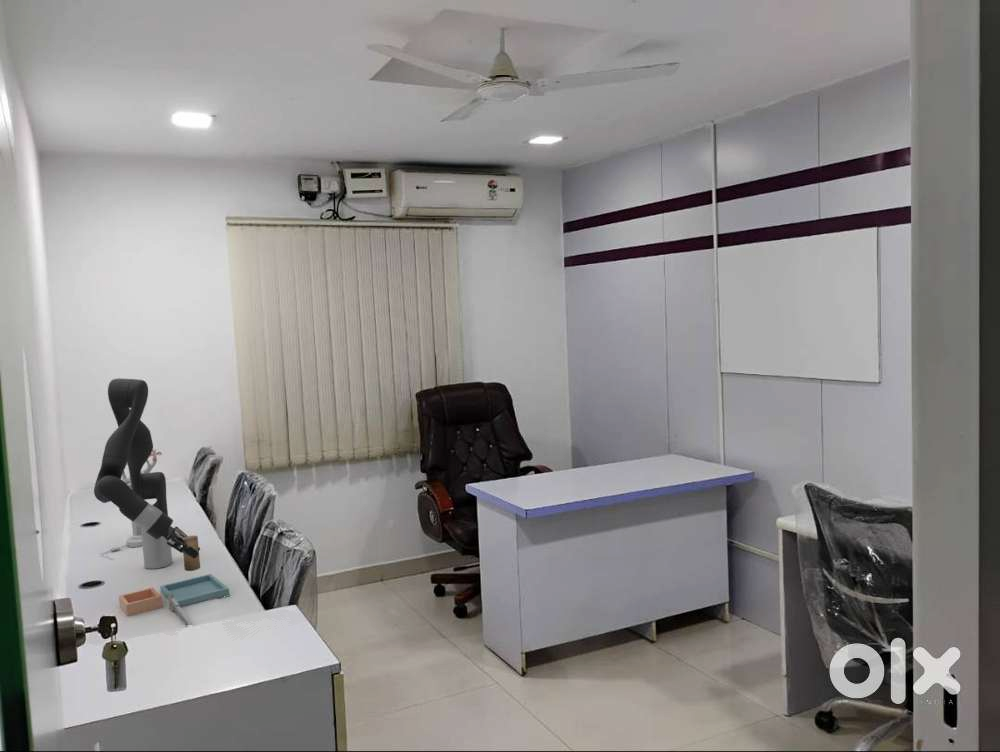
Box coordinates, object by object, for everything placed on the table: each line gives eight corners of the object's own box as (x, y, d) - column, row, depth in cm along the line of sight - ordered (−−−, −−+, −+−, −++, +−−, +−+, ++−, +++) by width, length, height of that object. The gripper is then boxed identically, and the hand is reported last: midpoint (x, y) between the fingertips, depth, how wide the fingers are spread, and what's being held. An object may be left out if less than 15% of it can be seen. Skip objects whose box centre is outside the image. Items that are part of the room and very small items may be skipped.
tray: (160, 593, 259) (160, 586, 259) (211, 581, 269) (210, 573, 268) (176, 609, 245) (175, 601, 245) (229, 595, 254) (228, 588, 254)
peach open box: (119, 608, 248) (118, 595, 248) (154, 599, 254) (153, 587, 254) (127, 618, 240) (126, 605, 240) (162, 608, 246) (161, 596, 246)
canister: (182, 568, 256) (180, 537, 255) (197, 565, 259) (195, 534, 258) (187, 572, 253) (184, 540, 252) (202, 568, 255) (199, 537, 254)
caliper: (168, 611, 245) (166, 591, 244) (172, 610, 245) (170, 590, 245) (191, 631, 229) (189, 610, 228) (195, 630, 229) (193, 609, 229)
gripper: (158, 517, 245) (204, 550, 250) (163, 506, 259) (207, 538, 263) (141, 536, 244) (187, 570, 249) (147, 524, 258) (191, 556, 262)
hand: (197, 553), depth 256 cm, fingers closed on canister, 4 cm apart
